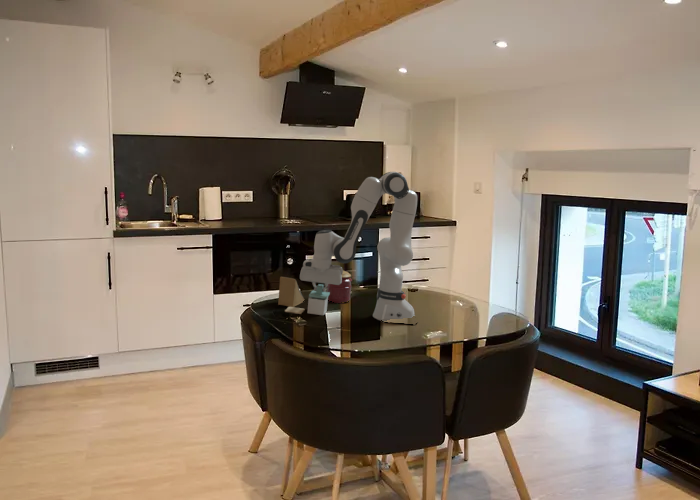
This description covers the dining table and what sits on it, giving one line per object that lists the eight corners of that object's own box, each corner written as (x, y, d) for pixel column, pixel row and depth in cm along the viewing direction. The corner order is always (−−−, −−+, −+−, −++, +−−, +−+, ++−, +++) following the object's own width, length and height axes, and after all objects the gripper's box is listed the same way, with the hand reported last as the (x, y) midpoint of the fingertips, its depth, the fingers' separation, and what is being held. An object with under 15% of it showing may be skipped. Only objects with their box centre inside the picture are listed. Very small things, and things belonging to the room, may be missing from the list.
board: (304, 310, 311) (304, 308, 310) (300, 315, 303) (300, 313, 303) (288, 308, 312) (288, 306, 311) (284, 312, 304) (284, 310, 304)
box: (326, 312, 312) (328, 296, 311) (323, 316, 304) (325, 300, 303) (310, 309, 313) (312, 294, 312) (307, 314, 305) (308, 298, 304)
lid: (329, 294, 311) (330, 284, 310) (326, 298, 302) (327, 288, 301) (312, 292, 312) (313, 282, 311) (308, 296, 304) (309, 286, 303)
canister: (349, 304, 329) (353, 271, 326) (324, 302, 329) (328, 269, 326) (350, 298, 342) (353, 266, 338) (326, 295, 342) (329, 263, 338)
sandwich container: (306, 302, 327) (308, 273, 324) (293, 308, 313) (295, 279, 310) (291, 298, 330) (293, 270, 327) (277, 305, 315) (280, 276, 312)
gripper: (344, 264, 306) (341, 292, 308) (302, 259, 308) (300, 287, 311) (342, 267, 300) (339, 295, 302) (300, 262, 302) (297, 290, 305)
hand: (319, 291), depth 307 cm, fingers closed on lid, 2 cm apart
